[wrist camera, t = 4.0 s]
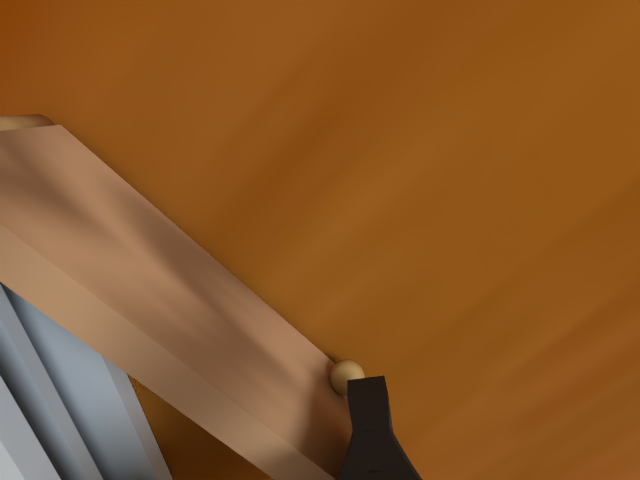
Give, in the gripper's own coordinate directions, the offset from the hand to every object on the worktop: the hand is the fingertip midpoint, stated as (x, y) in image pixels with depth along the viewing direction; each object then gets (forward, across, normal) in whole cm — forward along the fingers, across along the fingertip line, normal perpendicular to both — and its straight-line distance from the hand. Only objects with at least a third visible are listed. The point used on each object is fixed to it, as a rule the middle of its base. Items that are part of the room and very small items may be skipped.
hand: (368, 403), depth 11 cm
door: (+3, +4, -4) cm, 6 cm away
